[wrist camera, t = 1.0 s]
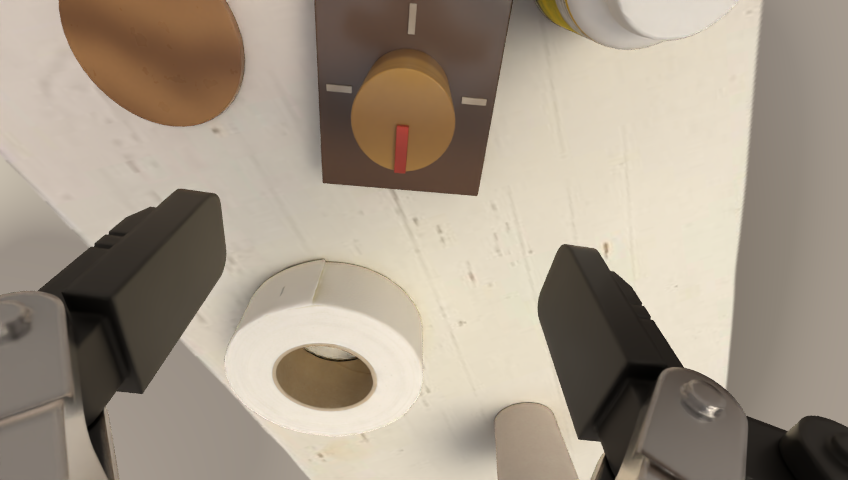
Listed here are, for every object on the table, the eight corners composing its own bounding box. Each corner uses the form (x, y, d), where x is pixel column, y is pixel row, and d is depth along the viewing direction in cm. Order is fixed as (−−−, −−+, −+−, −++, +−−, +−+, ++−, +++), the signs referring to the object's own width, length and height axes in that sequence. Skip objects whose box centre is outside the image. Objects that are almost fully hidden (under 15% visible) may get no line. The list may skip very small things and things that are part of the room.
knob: (365, 43, 22) (349, 63, 17) (455, 53, 22) (462, 75, 18) (363, 132, 25) (349, 170, 20) (444, 139, 25) (448, 178, 20)
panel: (324, -42, 22) (311, -44, 20) (507, -22, 23) (517, -21, 20) (331, 164, 29) (321, 184, 26) (473, 177, 29) (477, 197, 27)
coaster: (36, -74, 22) (26, -75, 21) (230, -53, 22) (226, -53, 22) (99, 116, 27) (93, 119, 27) (254, 130, 28) (251, 133, 27)
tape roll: (398, 243, 33) (394, 289, 28) (438, 373, 41) (440, 425, 36) (215, 277, 34) (182, 325, 30) (289, 395, 43) (272, 447, 38)
